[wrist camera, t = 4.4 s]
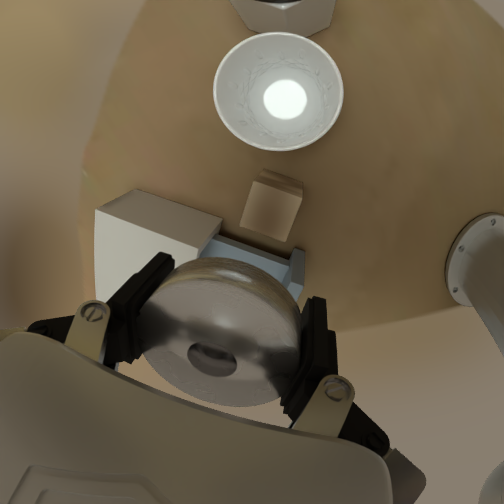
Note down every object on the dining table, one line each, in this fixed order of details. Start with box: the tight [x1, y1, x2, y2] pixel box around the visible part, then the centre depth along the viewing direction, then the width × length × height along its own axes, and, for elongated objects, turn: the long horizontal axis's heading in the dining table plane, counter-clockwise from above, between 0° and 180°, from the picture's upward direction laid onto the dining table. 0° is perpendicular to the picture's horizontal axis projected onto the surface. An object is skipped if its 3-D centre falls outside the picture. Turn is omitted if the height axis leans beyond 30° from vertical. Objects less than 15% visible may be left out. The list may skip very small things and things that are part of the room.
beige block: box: [239, 169, 303, 242], centre depth 25 cm, size 4×4×6 cm
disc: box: [136, 257, 302, 407], centre depth 10 cm, size 6×6×2 cm
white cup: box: [213, 32, 344, 151], centre depth 19 cm, size 8×8×10 cm
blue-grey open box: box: [199, 234, 305, 302], centre depth 29 cm, size 11×12×7 cm
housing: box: [94, 189, 223, 303], centre depth 29 cm, size 11×12×8 cm
